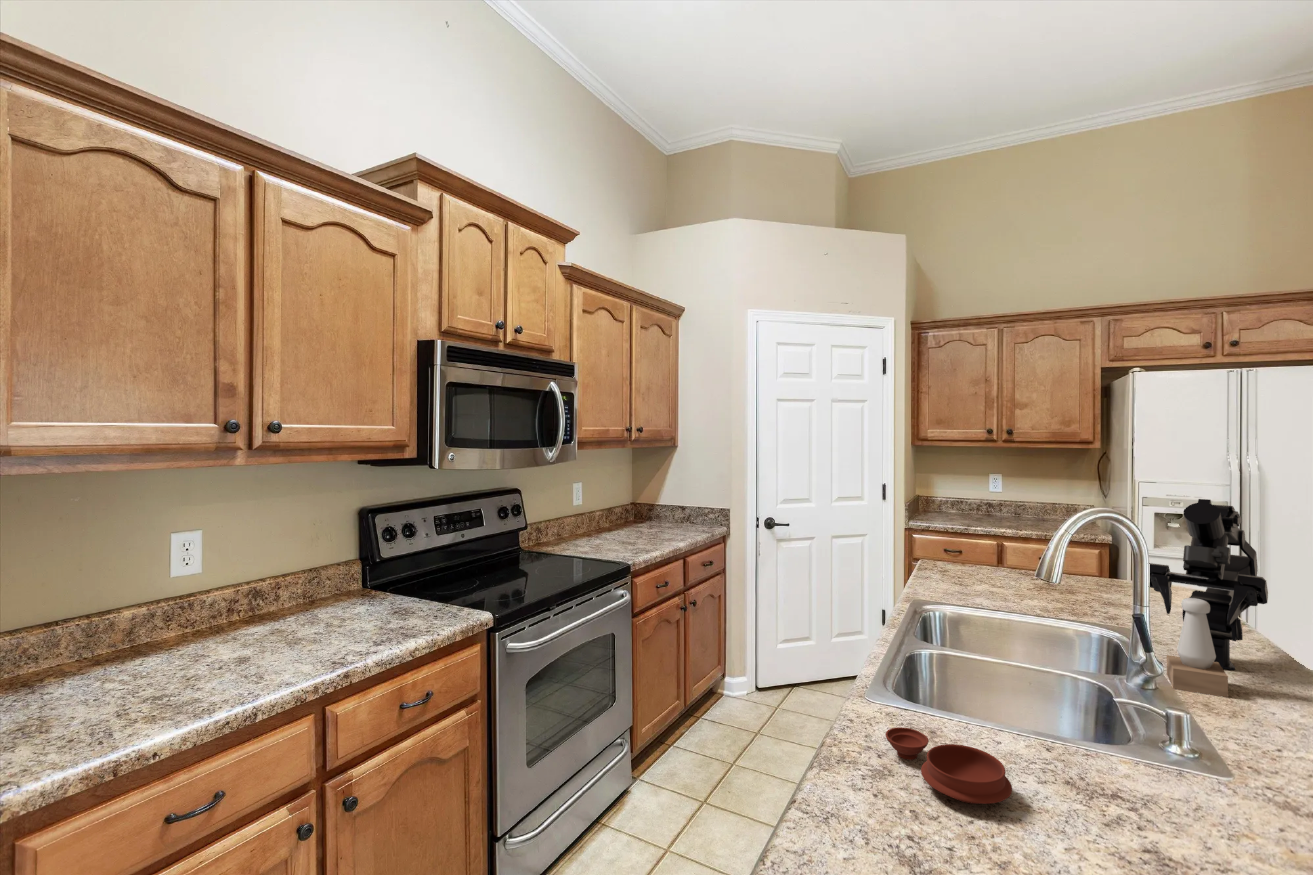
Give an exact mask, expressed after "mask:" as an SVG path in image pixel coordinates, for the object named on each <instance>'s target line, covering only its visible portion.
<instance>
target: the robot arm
mask: <svg viewBox="0 0 1313 875" xmlns="http://www.w3.org/2000/svg"><path fill="white" fill-rule="evenodd" d="M1183 517H1184V522H1185V524H1186V529H1187V532H1188V534H1189V536H1190V537H1191V542H1190V544H1189V545H1187V544H1186V545H1184V547H1183V556H1182V557H1183V559H1182V561H1183V566H1182V567H1183V568H1182V569H1183V571H1185V573H1181V572H1174V571H1171V570H1170V569H1171V568H1170V565H1168V564H1161V563H1153V562H1148V563H1149V564H1150V587H1149V588H1152V589H1153V591H1154V592H1157V593H1160V595H1161V597H1162V599H1163V605H1164V607H1165V612H1166V614H1167V615H1170V614H1171V611H1172V596H1173V592H1172V585H1173V583H1176V584H1183V585H1184V584H1185V585H1190V586H1197V587H1201V588H1206V590H1197V589H1195V590H1193V591H1192V592H1191V594H1190V596H1189V597H1188V598H1197V599H1201V600H1205V601H1207V602H1208V603H1209V604H1210V612H1209V613H1207V614H1206V616H1207V620H1208V625H1209V629H1210V633H1211V637H1212V642H1213V646H1214V650H1215V654H1216V659H1215V661H1214V662H1218V663H1219V664H1220V666H1221V667H1222V669H1223V670H1232V671H1235V670H1236V667H1235V665H1234V664H1233V663H1232V661H1231V650H1230V649H1231V647H1230V646H1231V645H1230V644H1231V643H1230V642H1231V641H1232V642H1237V641H1243V637H1244V636H1243V626H1242V620H1241V619H1240V617H1239V616H1240V615H1241V614H1242V613H1243V612H1245V610H1247V609H1249V608H1250V607H1251V606H1252V607H1257V606H1258V605H1259V604H1261V605H1267V604H1268V600H1269V589H1268V583H1267V580H1266V579H1265V578H1264V577H1263V576H1258V570H1259V569H1258V557H1257V551H1256V550H1255V549H1254V548H1253V547H1252V546H1251V545H1250V543H1249V542H1247V540H1246V534H1245V530H1242V529H1240V528H1239V527H1240V525H1241V524H1242V522H1243V521H1242V520H1243V519H1242V516H1241V514H1240V513H1239V511H1237V510H1236V509H1235V507H1234V506H1233V505H1225V504H1212V500H1211V499H1206V498H1198V499H1197V502H1195V503H1192V504H1189V505H1188V506H1186V507H1185V508H1184V510H1183ZM1229 546H1235V547H1239V548H1240V550H1241V552H1243V553H1244V555H1238V554H1231V547H1229ZM1185 612H1186V611H1184V610H1183V609H1182V623H1183V622H1184V617H1185Z"/></svg>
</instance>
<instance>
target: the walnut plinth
mask: <svg viewBox="0 0 1313 875" xmlns="http://www.w3.org/2000/svg"><path fill="white" fill-rule="evenodd" d="M1166 676H1167V678H1168V680H1169V683H1170V685H1171V687H1172V688H1173V689H1174V690H1179V691H1186V692H1192V693H1197V692H1198V694H1203V695H1209V694H1210V695H1211V696H1217V697H1221V696H1223V697H1224V698H1229V676H1228V674H1227V673H1226V671H1225V669H1223V668H1222V667H1221V666H1220V664H1219V663H1218V662H1213V664H1212V665H1211V667H1210V668H1207V669H1199V668H1193V667H1189V666H1187V665H1184V664H1183V663H1182V661H1181V659H1180V657H1179V656H1176V655H1169V654H1168V655H1166Z"/></svg>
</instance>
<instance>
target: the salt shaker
mask: <svg viewBox="0 0 1313 875" xmlns="http://www.w3.org/2000/svg"><path fill="white" fill-rule="evenodd" d="M1180 604H1181V605H1180V606H1181V608H1182V611H1183V610H1184V611H1186V612H1185V617H1184V622H1183V621H1182V625H1181V626H1182V627H1181V631H1180V634H1179V640H1178V643H1177V648H1176V652H1177V654H1178V657H1180V659H1181V661H1182V663H1183V664H1184V665H1187V666H1189V667H1193V668H1199V669H1207V668H1210V667H1211V665H1212V664H1213V662H1214V661H1215V659H1216V654H1215V650H1214V646H1213V642H1212V637H1211V633H1210V629H1209V625H1208V620H1207V616H1206V614H1207V613H1209V612H1210V604H1209V603H1208V602H1207V601H1205V600H1201V599H1197V598H1189V597H1186V598H1183V599H1182V600H1181V602H1180Z"/></svg>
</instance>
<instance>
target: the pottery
mask: <svg viewBox="0 0 1313 875" xmlns="http://www.w3.org/2000/svg"><path fill="white" fill-rule="evenodd" d="M885 737H886V740H887V742H888V743H889V744H890V746H891V748H893V749H894V750H895V751H896V755H897V756H898V757H899V758H900V759H901V758H902V759H903V760H907V761H912V760H916V759H917V758H918V755H919V754H921V753H922V751H923V750H925V749H926V748H927V746H928V744H929V741H930V740H929V738H928V736H927V735H926V734H924V733H922V732H921V731H919V730H916V729H913V728H909V727H902V726H901V727H900V726H899V727H892V728H889V729H888V730H887V731H886V732H885ZM920 773H921V776H922V778H923V779H924V781H925V782H926V783H927V784H928V785H929V786H930V787H932V789H935V790H936V791H938V792H939V793H941V794H943V795H946V796H948V797H949V798H953V799H955V800H957V801H959V802H963V803H966V804H978V805H979V804H980V805H981V804H986V805H987V804H996V803H1000V802H1003V801H1006V800H1007V799H1008V798H1010V797H1011V795H1012V794H1013V785H1012V784H1011V782H1010V780H1009V778H1007V776H1006V768H1005V766H1004V764H1003V762H1001V761H1000V760H999V759H998V758H996V757H995V756H993V755H992V754H990V753H988V752H986V751H984V750H981V749H980V748H975V747H972V746H968V745H963V744H953V743H951V744H950V743H949V744H939V745H935V746H933V747H931V748H930V749H928V750H927V753H926V761H924V762H923V764H922V765H921V769H920Z"/></svg>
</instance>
